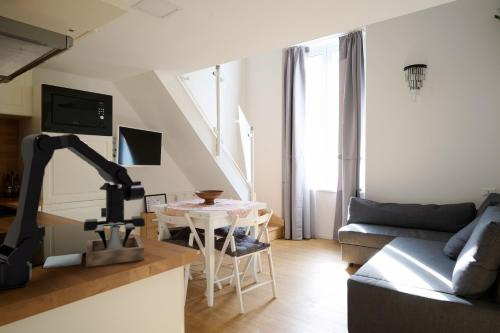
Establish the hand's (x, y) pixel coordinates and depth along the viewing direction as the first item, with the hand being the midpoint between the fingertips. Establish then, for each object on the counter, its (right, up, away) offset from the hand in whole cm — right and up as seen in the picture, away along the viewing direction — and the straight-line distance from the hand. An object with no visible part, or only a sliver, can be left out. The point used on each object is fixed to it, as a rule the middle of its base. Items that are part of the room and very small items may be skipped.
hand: (115, 248), depth 107 cm
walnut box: (0, -3, 0) cm, 2 cm away
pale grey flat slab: (-14, -3, -7) cm, 15 cm away
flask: (0, -3, 0) cm, 3 cm away
